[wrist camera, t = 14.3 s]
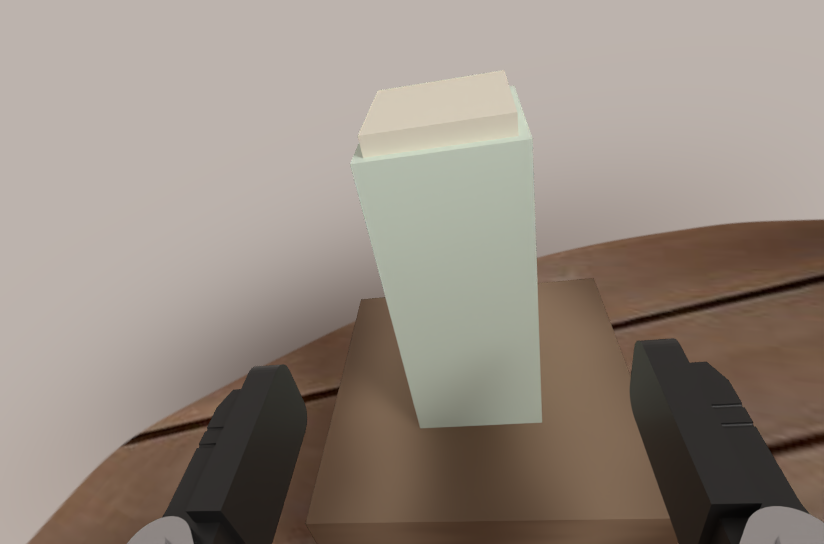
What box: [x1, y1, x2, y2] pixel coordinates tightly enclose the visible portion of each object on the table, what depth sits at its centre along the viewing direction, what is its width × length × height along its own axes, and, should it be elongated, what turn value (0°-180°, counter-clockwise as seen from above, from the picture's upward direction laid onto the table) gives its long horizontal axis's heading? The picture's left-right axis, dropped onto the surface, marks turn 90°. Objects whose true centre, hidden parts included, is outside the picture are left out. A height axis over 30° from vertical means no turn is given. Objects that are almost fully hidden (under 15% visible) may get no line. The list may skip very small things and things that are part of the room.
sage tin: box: [350, 70, 542, 428], centre depth 17 cm, size 5×5×12 cm
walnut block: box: [305, 278, 678, 544], centre depth 22 cm, size 12×12×6 cm
